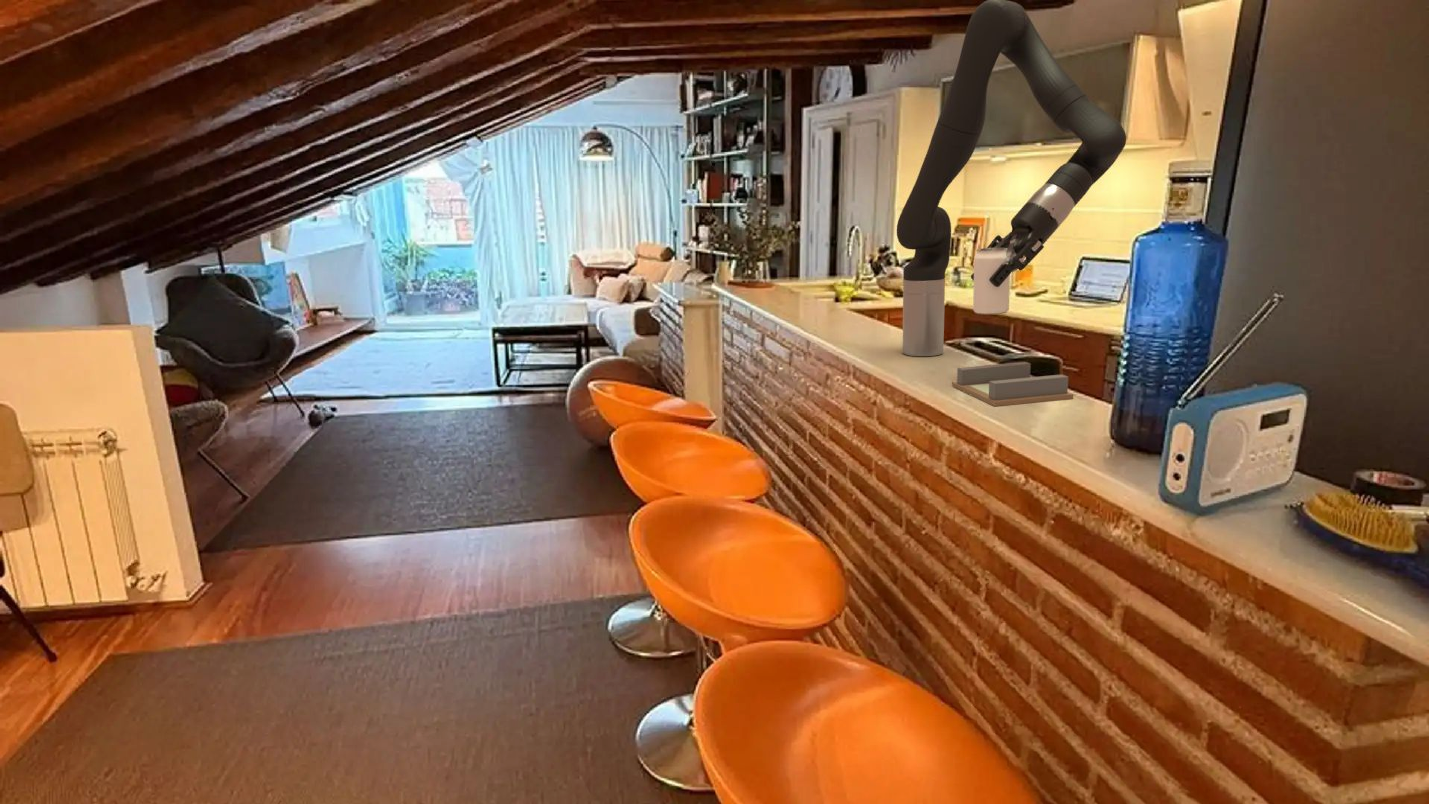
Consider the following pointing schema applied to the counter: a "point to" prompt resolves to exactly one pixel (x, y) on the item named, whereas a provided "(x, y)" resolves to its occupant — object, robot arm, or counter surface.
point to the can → (985, 292)
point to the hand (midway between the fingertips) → (983, 282)
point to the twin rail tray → (1010, 384)
